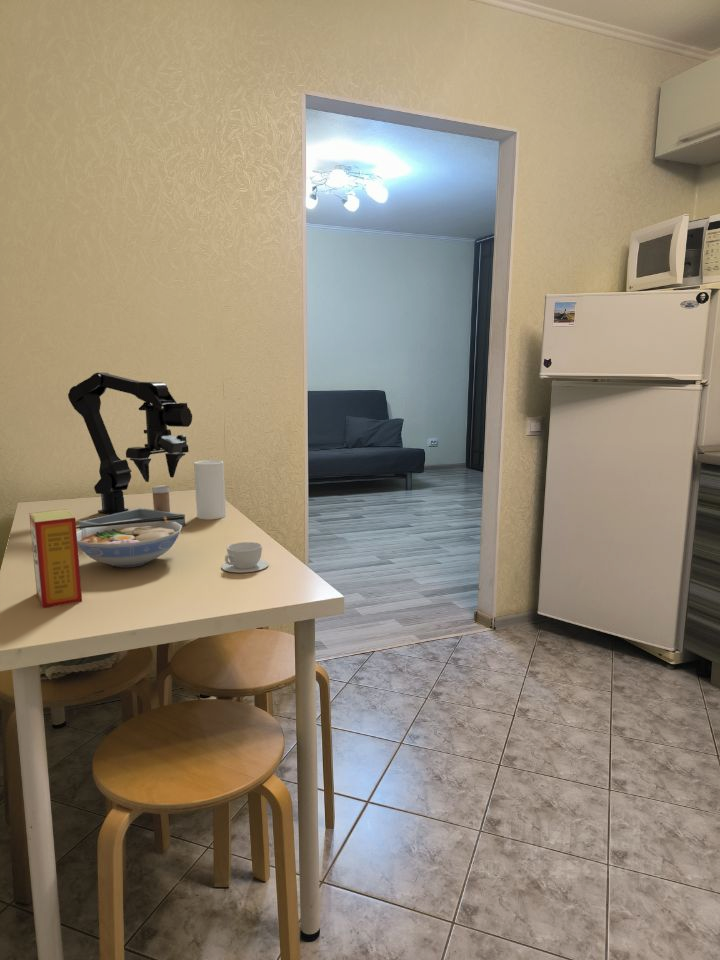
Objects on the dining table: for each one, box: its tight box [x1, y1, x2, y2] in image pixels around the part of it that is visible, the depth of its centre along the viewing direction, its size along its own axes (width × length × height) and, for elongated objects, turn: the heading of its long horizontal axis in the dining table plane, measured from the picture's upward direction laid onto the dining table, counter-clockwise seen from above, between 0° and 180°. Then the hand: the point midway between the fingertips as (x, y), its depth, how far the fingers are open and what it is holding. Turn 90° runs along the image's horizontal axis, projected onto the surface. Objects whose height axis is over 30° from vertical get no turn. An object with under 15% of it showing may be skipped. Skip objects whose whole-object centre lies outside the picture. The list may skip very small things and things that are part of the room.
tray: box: [78, 507, 186, 530], centre depth 176 cm, size 18×20×3 cm
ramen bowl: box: [76, 515, 184, 569], centre depth 144 cm, size 25×23×8 cm
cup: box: [193, 459, 227, 520], centre depth 190 cm, size 8×8×16 cm
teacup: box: [221, 541, 269, 573], centre depth 140 cm, size 10×10×5 cm
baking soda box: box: [28, 509, 83, 609], centre depth 121 cm, size 10×6×16 cm
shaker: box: [151, 484, 171, 512], centre depth 193 cm, size 5×5×8 cm
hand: (159, 479), depth 192 cm, fingers open, 9 cm apart
